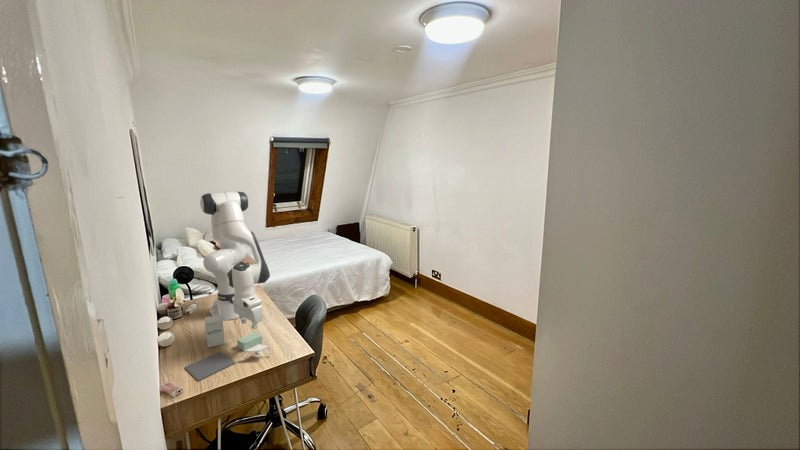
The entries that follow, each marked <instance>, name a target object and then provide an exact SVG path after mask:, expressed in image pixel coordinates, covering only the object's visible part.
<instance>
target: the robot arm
mask: <svg viewBox="0 0 800 450" xmlns="http://www.w3.org/2000/svg"><path fill="white" fill-rule="evenodd" d="M249 204H250V200H249V197H248V195H247V194H246V193H245V192H244V191H243V192H242V191H223V192H222V191H221V192H213V193H204V194H203V195H202V196H200V200H199V205H200V206H199V207H200V209H201V211H202V212H203V213H204V214H206V215H209V216H210V215H211V217H210V218H211V234H212V238H213V240H214V241H216V242H218V243H219V245H220V248H219V249H218V250H215V251H212V252H210V253H209V254H207V255H206V256H204V258H203V262H202V264H203V267H204V269H205V270H206V271H207V272H209V273H211V274H212V275H213V276H214V277H215V280H216V284H217V289H218V290H217V298H216V299H215V300H214V301H213V303H212V305H211V308H210V309H209V311H208V312H209V313H210V315H211V316H215V315H221V314H222V320H223V321H229V320H230V321H231V320H234V319H240V321H241V324H243V325H244V324H247V320H248V321H249V322H251V329H252V330H256V329H258V323H260V322H262V321H263V318H264V316H263V315H264V314H263V307H262V305H261V304H263V302H262V299H261V298H260V297H259V296H258V294H257V293H256V288H255V286H254V285H257V284H266V282H267V281H268V280H269V278H270V277H271V271H270V268H269V266H268V265H267V262H266V260H265V257H264V254H263V252H262V250H261V249H262V248H261V247H260V244H259V242H258V238H257V236H256V235H255V233H254V232H253V231H251V230H249V228H248V227H247V225H246V222H245V217H244V213H243V212H245V211H246V210H248V209H249V208H248V207H249ZM243 245H245V246H247V247H248V248H249V249H250V250H251V253H252V255H253V258H254V261H255V263H253V264H249V263H247V262H242V261H243V260H245V259H246V258H247V255H248V252H247V249H246V248H245V247H244V246H243Z"/></svg>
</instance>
